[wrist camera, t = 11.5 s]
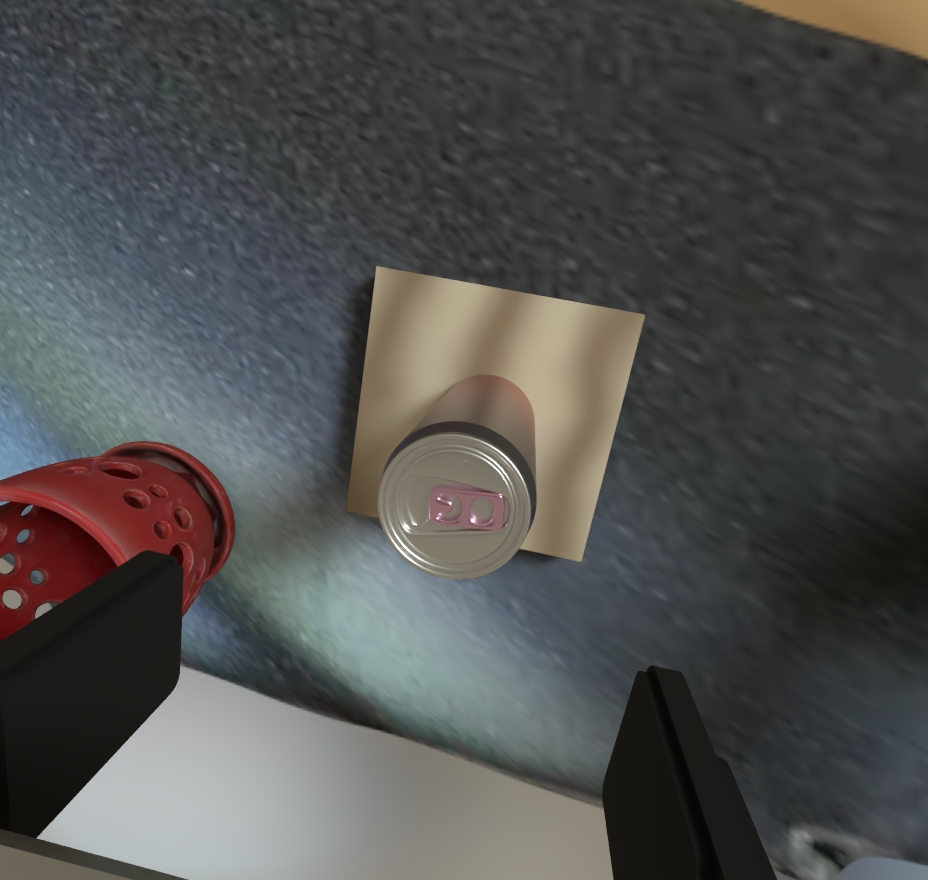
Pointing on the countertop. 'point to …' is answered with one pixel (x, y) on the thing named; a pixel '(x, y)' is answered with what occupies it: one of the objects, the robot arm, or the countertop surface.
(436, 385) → the birch board
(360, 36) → the countertop surface
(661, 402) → the countertop surface
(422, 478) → the beverage can
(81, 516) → the plant pot
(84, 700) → the robot arm
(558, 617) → the countertop surface
